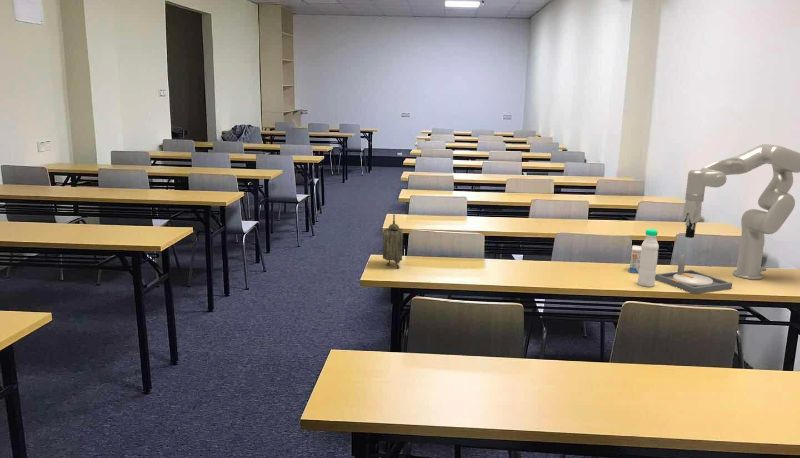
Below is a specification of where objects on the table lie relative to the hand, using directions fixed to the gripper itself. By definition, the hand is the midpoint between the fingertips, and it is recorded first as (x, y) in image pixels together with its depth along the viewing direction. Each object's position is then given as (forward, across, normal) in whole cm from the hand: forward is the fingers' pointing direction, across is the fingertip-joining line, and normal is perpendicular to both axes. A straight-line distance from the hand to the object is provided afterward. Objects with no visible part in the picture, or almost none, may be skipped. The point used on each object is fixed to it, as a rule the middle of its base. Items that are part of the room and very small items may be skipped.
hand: (689, 237), depth 277 cm
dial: (+18, +9, +6) cm, 21 cm away
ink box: (+19, +7, -19) cm, 28 cm away
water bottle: (+19, +26, -7) cm, 33 cm away
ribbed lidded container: (+19, +89, -104) cm, 138 cm away
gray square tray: (+19, +9, +6) cm, 22 cm away
